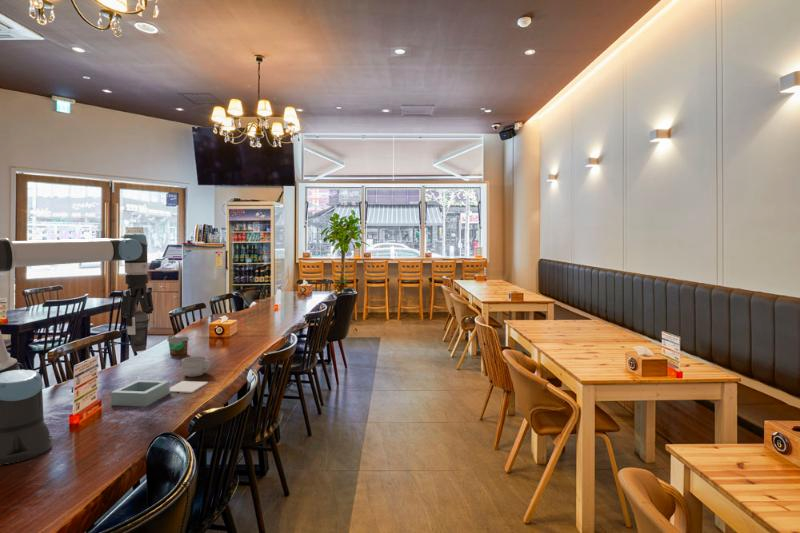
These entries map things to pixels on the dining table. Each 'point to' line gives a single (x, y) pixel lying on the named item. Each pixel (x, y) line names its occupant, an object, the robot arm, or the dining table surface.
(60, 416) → the dining table surface
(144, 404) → the grey square tray
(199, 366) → the teacup
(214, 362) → the dining table surface
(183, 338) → the food container
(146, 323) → the beverage cup
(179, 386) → the grey mat
